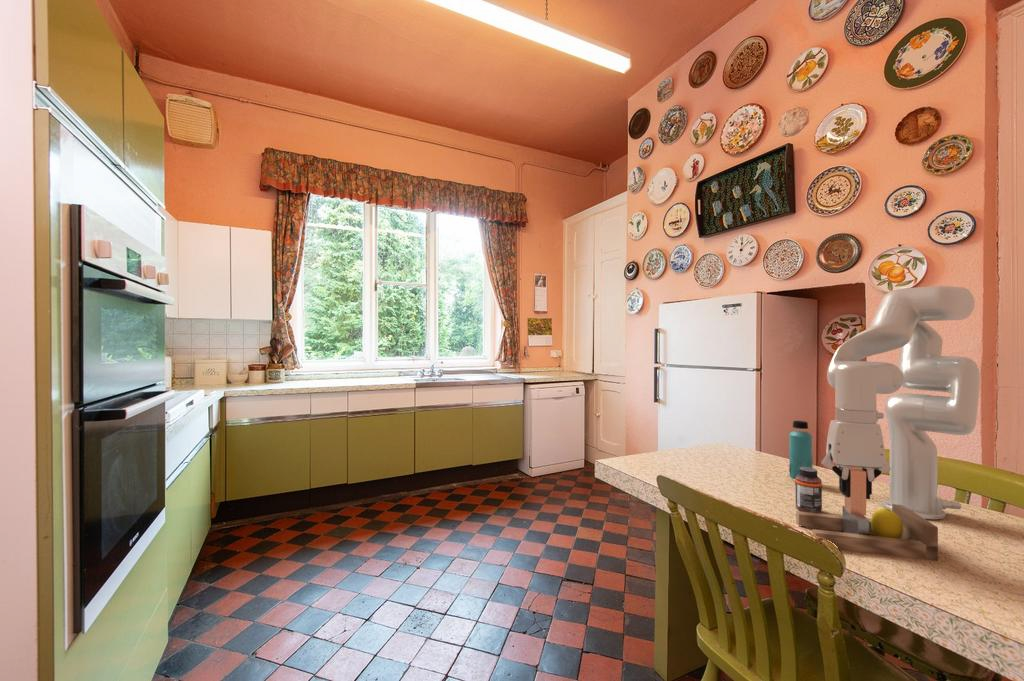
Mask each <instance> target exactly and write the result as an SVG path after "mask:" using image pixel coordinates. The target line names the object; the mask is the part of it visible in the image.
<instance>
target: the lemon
mask: <svg viewBox="0 0 1024 681" xmlns="http://www.w3.org/2000/svg"><path fill="white" fill-rule="evenodd" d="M870 519H871V527H872V530H873V532H874V534H875V535H874V534H873V535H874V536H879V537H888V538H897V539H900V538H901V536H902V534H903V525H902V521H901V519H900V517H899V516H898V515H897V514H896V513H894V512H893V511H891V510H889V509H888V508H885V507H884V508H879V509H877V510H875V511H874V512H873V513H872V516H871V518H870Z"/></svg>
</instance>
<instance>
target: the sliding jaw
mask: <svg viewBox="0 0 1024 681" xmlns="http://www.w3.org/2000/svg"><path fill="white" fill-rule="evenodd" d="M848 479H849V480H850V482H851V496H850V497H846V496H844V505H842V516H843V522H842V531H841V532H842V533H851V534H860V535H870V534H869V519H870V518H869V519H867V518H868V517H866V516H867V499H866V471H864V470H863V469H862V467H851V466H849V473H848Z"/></svg>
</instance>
